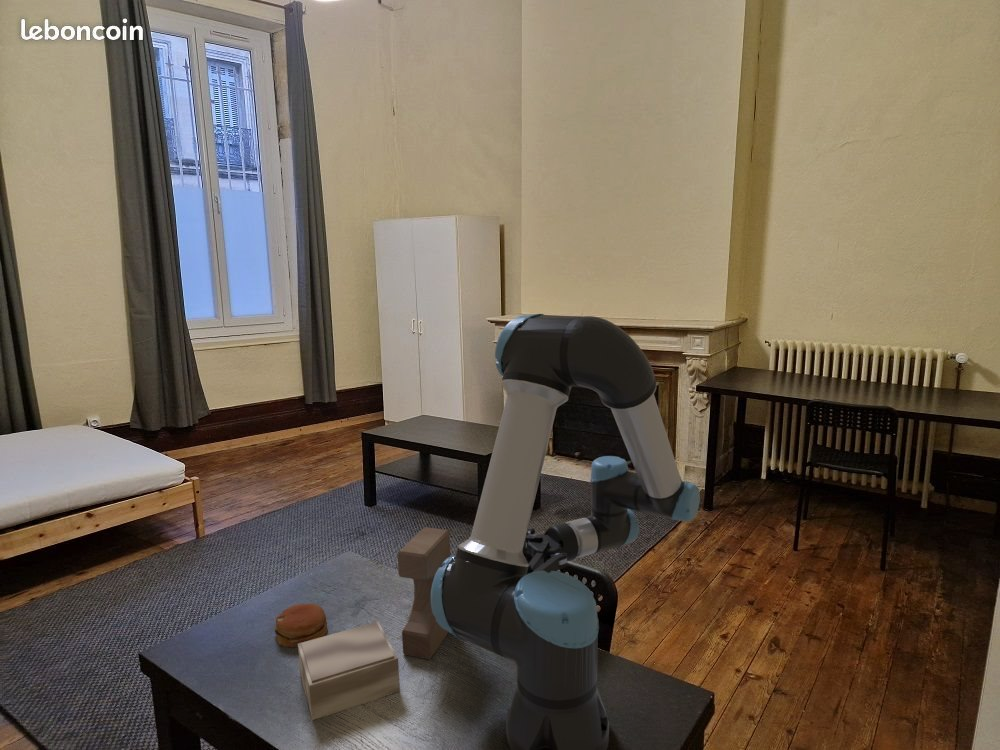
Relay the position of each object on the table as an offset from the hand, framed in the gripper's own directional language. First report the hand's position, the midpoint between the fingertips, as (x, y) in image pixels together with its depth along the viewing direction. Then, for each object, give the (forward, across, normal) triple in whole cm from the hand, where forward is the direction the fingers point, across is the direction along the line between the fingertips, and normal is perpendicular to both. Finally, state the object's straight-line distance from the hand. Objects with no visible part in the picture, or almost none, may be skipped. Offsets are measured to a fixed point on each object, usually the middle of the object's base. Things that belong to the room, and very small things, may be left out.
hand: (475, 566), depth 117 cm
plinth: (+26, -5, -12) cm, 29 cm away
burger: (+31, +14, -12) cm, 36 cm away
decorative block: (+10, 0, -12) cm, 16 cm away
